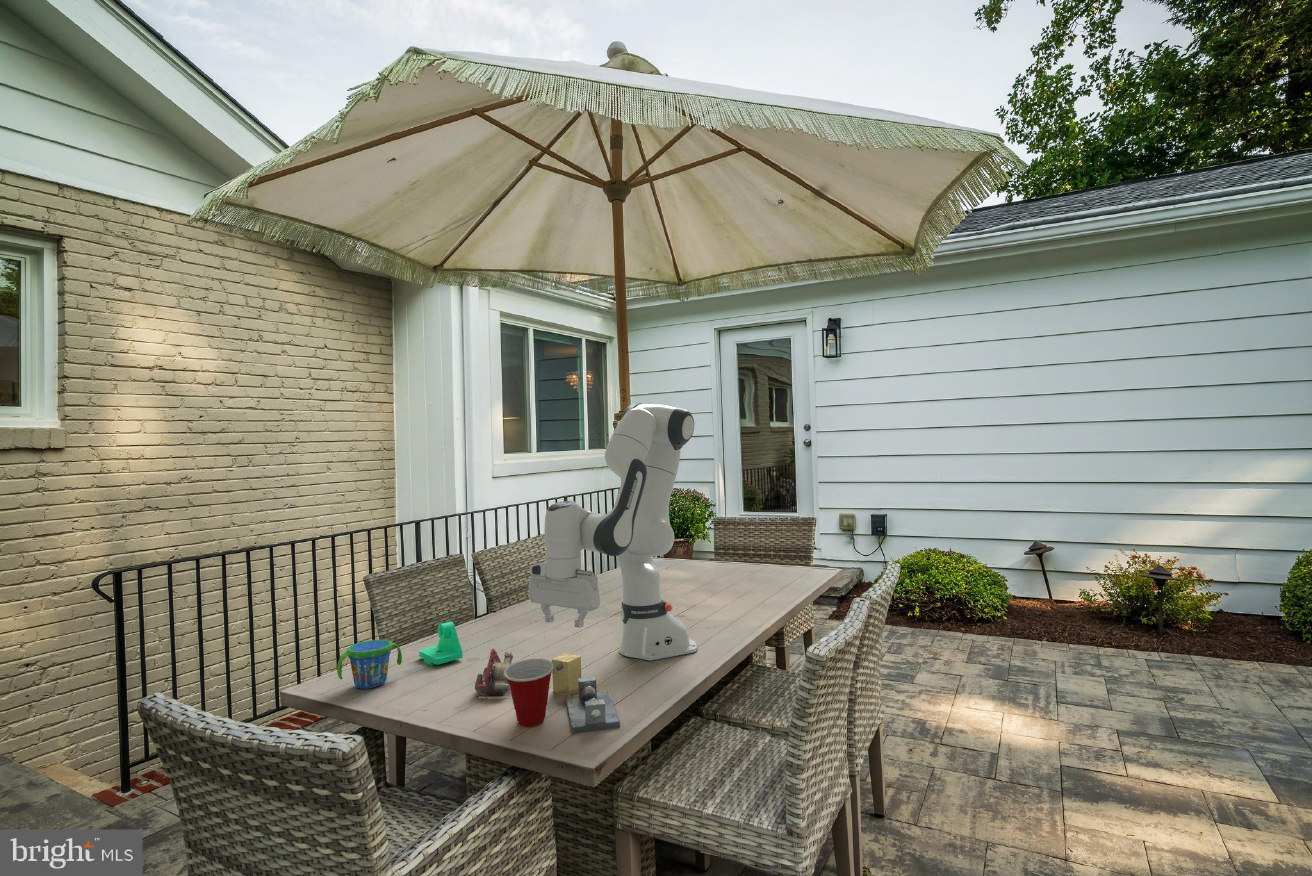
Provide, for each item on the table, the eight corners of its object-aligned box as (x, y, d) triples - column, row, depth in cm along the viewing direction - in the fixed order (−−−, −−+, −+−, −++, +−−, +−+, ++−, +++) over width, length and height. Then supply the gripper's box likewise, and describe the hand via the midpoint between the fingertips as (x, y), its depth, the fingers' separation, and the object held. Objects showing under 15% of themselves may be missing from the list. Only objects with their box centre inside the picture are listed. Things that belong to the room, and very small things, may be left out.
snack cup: (397, 671, 173) (396, 634, 173) (407, 682, 165) (406, 643, 165) (334, 686, 164) (332, 647, 164) (341, 698, 156) (340, 657, 156)
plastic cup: (495, 729, 136) (493, 673, 136) (523, 709, 146) (521, 656, 146) (539, 736, 132) (537, 678, 132) (564, 714, 142) (562, 660, 142)
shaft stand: (608, 696, 151) (607, 674, 151) (620, 727, 135) (619, 702, 135) (565, 701, 149) (565, 679, 149) (572, 733, 132) (571, 708, 132)
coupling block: (568, 684, 160) (567, 652, 160) (583, 687, 157) (582, 655, 157) (550, 693, 154) (549, 660, 155) (566, 697, 152) (565, 663, 152)
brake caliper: (476, 673, 163) (501, 638, 163) (509, 698, 162) (534, 663, 162) (460, 690, 152) (486, 652, 152) (494, 716, 152) (521, 678, 151)
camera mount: (418, 659, 184) (416, 624, 184) (443, 652, 189) (441, 618, 189) (437, 669, 175) (435, 631, 175) (462, 661, 180) (461, 625, 181)
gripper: (604, 569, 153) (605, 626, 153) (541, 562, 164) (542, 616, 164) (588, 573, 148) (589, 633, 148) (524, 566, 159) (524, 622, 158)
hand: (564, 624), depth 156 cm, fingers open, 8 cm apart
